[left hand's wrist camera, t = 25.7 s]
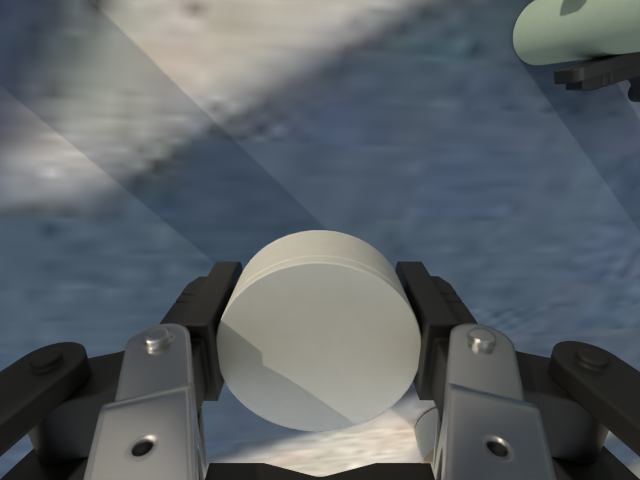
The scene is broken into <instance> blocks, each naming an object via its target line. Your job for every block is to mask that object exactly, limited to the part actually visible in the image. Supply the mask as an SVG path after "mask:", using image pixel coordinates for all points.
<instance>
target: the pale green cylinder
mask: <svg viewBox="0 0 640 480" xmlns="http://www.w3.org/2000/svg"><path fill="white" fill-rule="evenodd" d="M513 45H514V49H515V51H516V53H517V55H518V56H519V58H520V59H521V60H522V61H524V62H525V63H528V64H530V65H546V64H553V63H560V62H568V61H575V60H582V59H590V58H597V57H604V56H612V55H619V54H626V53H633V52H640V0H535V1H533V2H531V3H530V4H529V5H528V6H527V7H526V8H525V9H524V10H523V11H522V13H521V14H520V16H519V17H518V19H517V21H516V24H515V27H514V31H513Z"/></svg>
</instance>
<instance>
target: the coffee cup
mask: <svg viewBox="0 0 640 480" xmlns="http://www.w3.org/2000/svg"><path fill="white" fill-rule="evenodd" d="M437 416H438V410H437V408H434V409H432V410H430V411H429V412H427V413H426V414H424V415H423V416H422V417H421V418H420V419H419V421H418V423H417V425H416V428H415V435H416V440H417V445H418V450H419V455H420V460H421V463H430V464H431V467H432V468H433V457H434V446H435V434H436V423H437Z"/></svg>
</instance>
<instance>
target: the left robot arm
mask: <svg viewBox="0 0 640 480" xmlns="http://www.w3.org/2000/svg"><path fill="white" fill-rule="evenodd" d="M242 272H243V271H242V265H241V263H240V262H216V264H215V265H214V267H213V268H212V270H211V272H210V273H209V275H208V276H207V277H199V278H197V279H195V280H194V281H192V282H191V283H189V284H188V285H187V286H186V288H185V289H184V290H183V292H182V293H181V295H180V296H179V297H178V299H177V300H176V303H174V304H173V306H172V307H171V309H170V310H169V311H168V313H167V314H166V316H165V317H164V319H163V320H162V321H161V323H160V324H159V325H155V326H152V327H149V328H146V329H144V330H142V331H140V332H139V333H137V334H135V335H134V336H133V337H132V338H131V339H130V340H129V341H128V343H127V345H126V348H125V351H121V352H117V353H113V354H108V355H103V356H98V357H93V358H88V357H87V353H86V350H85V348H84V346H83V345H81V344H79V343H74V342H63V343H56V344H52V345H48V346H45V347H42V348H40V349H37V350H35V351H33V352H31V353H29V354H27V355H25V356H24V357H22V358H21V359H19V360H18V361H16V362H15V363H13V364H12V365H10V366H9V367H7V368H6V369H4V370H3V371H1V372H0V457H1V456H2V455H3V454H4V453H5V452H6V451H7V450H9V449H10V448H11V447H12V446H13V445H14V444H15V443H17V442H18V441H19V440H20V439H21V438H22V437H23V436H25V435H26V434H27V433H28V434H29V437H30V439H31V442H32V444H33V447H34V449H33V450H31V451H30V452H29V453H28V454H27V455H26V456H25V457H24V458H23V459H22V460H21V461H20V462H19V463H17V464H16V465H15V466H14V467H13V468H12V469H11V470H10V471H9V472H8V473H7V474H6V475H4V476H3V477H2V478H1V479H0V480H640V479H639V478H638V477H637V476H635V475H634V474H633V473H632V472H631V471H630V470H629V469H628V468H627V467H626V466H625V465H624V464H623V463H621V462H620V461H619V460H618V459H617V458H616V457H615V456H614V455H613V454H612V453H611V452H610V451H608V450H607V449H606V448H605V447H604V446H603V444H604V441H605V439H606V436H607V434H608V431H609V430H610V431H611V432H612V433H613V434H614V435H615V436H617V437H618V438H619V439H620V440H621V441H622V442H623V443H625V444H626V445H627V446H628V447H629V448H630V449H631V450H633V451H634V452H635V453H636V454H637V455H638V456H639V457H640V372H639V371H637V370H636V369H634V368H633V367H631V366H630V365H628V364H627V363H625V362H624V361H622V360H621V359H619V358H618V357H616V356H615V355H613V354H611V353H610V352H608V351H606V350H604V349H601V348H599V347H596V346H593V345H590V344H587V343H582V342H576V341H564V342H560V343H558V344H556V345H555V346H554V348H553V351H552V354H551V358H547V357H542V356H537V355H532V354H527V353H522V352H518V351H515V348H514V345H513V343H512V341H511V340H510V339H509V338H508V337H507V336H506V335H505V334H503V333H501V332H500V331H498V330H496V329H494V328H491V327H488V326H485V325H481V324H478V323H477V322H476V320H475V319H474V317H473V316H472V315H471V313H470V312H469V310H468V309H467V308H466V306H465V305H464V303H462V300H461V299H460V298H459V296H458V295H456V292H455V290H454V289H453V288H452V286H451V285H450V284H449V283H448V282H446V281H444V280H443V279H441V278H440V277H438V276H430V275H429V273H428V271H427V270H426V268H425V267H424V265H423V263H422V262H397V265H396V274H397V276H398V278H399V280H400V283H401V285H402V287H403V289H404V292H405V294H406V296H407V299H408V301H409V303H410V305H411V308H412V310H413V312H414V314H415V317H416V319H417V322H418V325H419V328H420V333H421V348H420V356H419V364H418V371H417V373H416V376H415V378H414V380H413V381H414V384H415V387H416V390H417V393H418V396H419V399H420V400H434V402H435V405H436V408H437V410H438V416H437V423H436V434H435V446H434V457H433V468H432V467H431V464H430V463H375V464H371V465H367V466H363V467H359V468H356V469H352V470H348V471H344V472H340V473H337V474H333V475H329V476H325V477H315V476H311V475H307V474H303V473H300V472H296V471H292V470H288V469H284V468H281V467H277V466H273V465H269V464H265V463H210V464H209V467H208V468H207V457H206V446H205V434H204V423H203V416H202V409H201V406H202V404H203V401H218V399H219V396H220V393H221V390H222V387H223V384H224V379H223V376H222V374H221V372H220V366H219V358H218V350H217V342H216V336H217V330H218V326H219V323H220V321H221V318H222V315H223V313H224V311H225V309H226V307H227V304H228V302H229V300H230V298H231V296H232V293H233V291H234V289H235V287H236V284H237V282H238V280H239V278H240V276H241V274H242Z"/></svg>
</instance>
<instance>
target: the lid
mask: <svg viewBox="0 0 640 480" xmlns="http://www.w3.org/2000/svg"><path fill="white" fill-rule="evenodd" d="M216 342H217V350H218V358H219V366H220V372H221V374H222V376H223V379H224V381H225V383H226V384H227V386H228V387H229V389H230V390H231V392H232V393H233V394H234V395H235V396H236V397H237V399H238V400H239V401H240V402H241V403H243V404H244V405H245V406H246V407H247V408H248V409H250V410H251V411H253V412H254V413H256V414H257V415H259V416H261V417H263V418H264V419H266V420H268V421H271V422H273V423H276V424H278V425H281V426H285V427H288V428H293V429H298V430H305V431H333V430H340V429H345V428H350V427H353V426H356V425H359V424H362V423H365V422H367V421H369V420H371V419H373V418H375V417H377V416H379V415H380V414H382V413H384V412H385V411H386V410H388V409H389V408H391V407H392V406H393V405H394V404H395V403H396V402H397V401H398V400H399V399H400V398H401V397H402V396H403V395H404V394H405V392H406V391H407V390H408V388H409V387H410V385H411V383H412V382H413V380H414V378H415V376H416V373H417V371H418V364H419V356H420V348H421V333H420V328H419V325H418V322H417V319H416V317H415V314H414V312H413V310H412V308H411V305H410V303H409V301H408V299H407V296H406V294H405V292H404V289H403V287H402V285H401V283H400V280H399V278H398V276H397V274H396V272H395V271H394V269H393V267H392V266H391V264H390V263H389V262H388V261H387V259H386V258H385V257H384V256H383V255H382V254H381V253H380V252H379V251H378V250H376V249H375V248H373V247H372V246H371V245H369V244H368V243H366V242H364V241H362V240H360V239H358V238H356V237H353V236H350V235H348V234H344V233H339V232H335V231H326V230H311V231H304V232H298V233H294V234H291V235H287V236H285V237H282V238H280V239H277V240H276V241H274V242H272V243H270V244H269V245H267V246H266V247H264V248H263V249H262V250H260V251H259V252H258V253H257V254H256V255H255V256H254V257H253V258H252V259H251V260H250V262H249V263H248V264H247V266H246V267H245V268H244V270H243V272H242V274H241V276H240V278H239V280H238V282H237V284H236V287H235V289H234V291H233V293H232V296H231V298H230V300H229V302H228V304H227V307H226V309H225V311H224V313H223V315H222V318H221V321H220V323H219V326H218V330H217V336H216Z"/></svg>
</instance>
